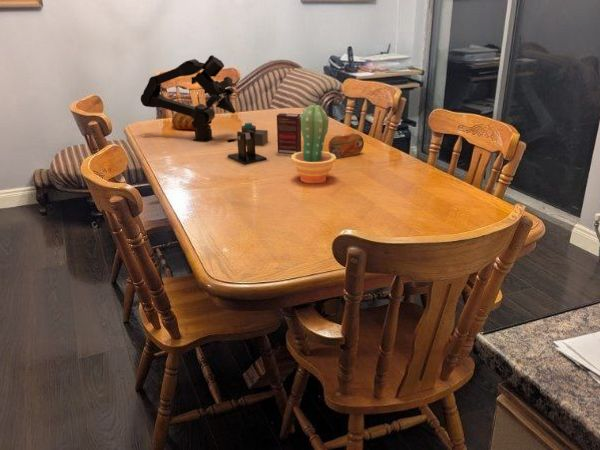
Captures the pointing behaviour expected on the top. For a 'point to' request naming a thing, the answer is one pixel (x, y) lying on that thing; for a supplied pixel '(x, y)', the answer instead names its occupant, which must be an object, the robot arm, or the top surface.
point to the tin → (346, 145)
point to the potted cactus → (313, 146)
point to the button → (248, 125)
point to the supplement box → (288, 133)
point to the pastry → (182, 121)
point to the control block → (257, 135)
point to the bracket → (249, 155)
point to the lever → (237, 139)
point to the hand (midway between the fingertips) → (234, 112)
